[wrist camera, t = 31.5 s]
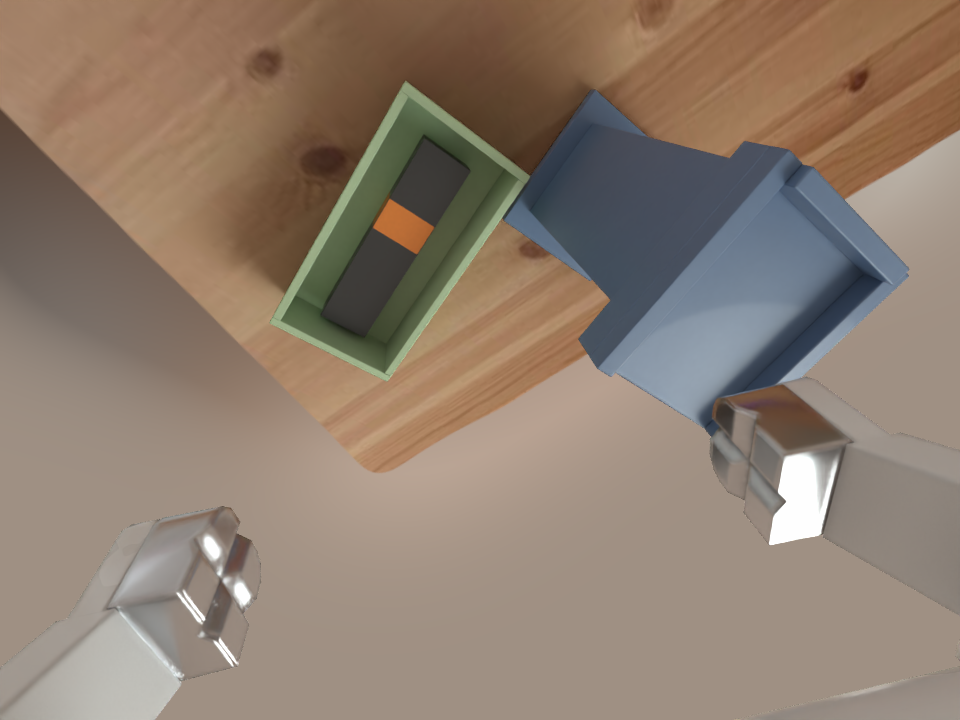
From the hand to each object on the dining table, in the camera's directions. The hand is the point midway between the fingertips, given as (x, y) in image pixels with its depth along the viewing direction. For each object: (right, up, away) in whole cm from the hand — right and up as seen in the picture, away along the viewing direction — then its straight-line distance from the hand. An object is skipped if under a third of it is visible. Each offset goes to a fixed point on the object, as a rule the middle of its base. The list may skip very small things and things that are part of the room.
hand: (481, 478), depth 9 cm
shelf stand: (+10, +17, +39) cm, 44 cm away
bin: (-8, +14, +39) cm, 42 cm away
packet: (-8, +13, +38) cm, 41 cm away
